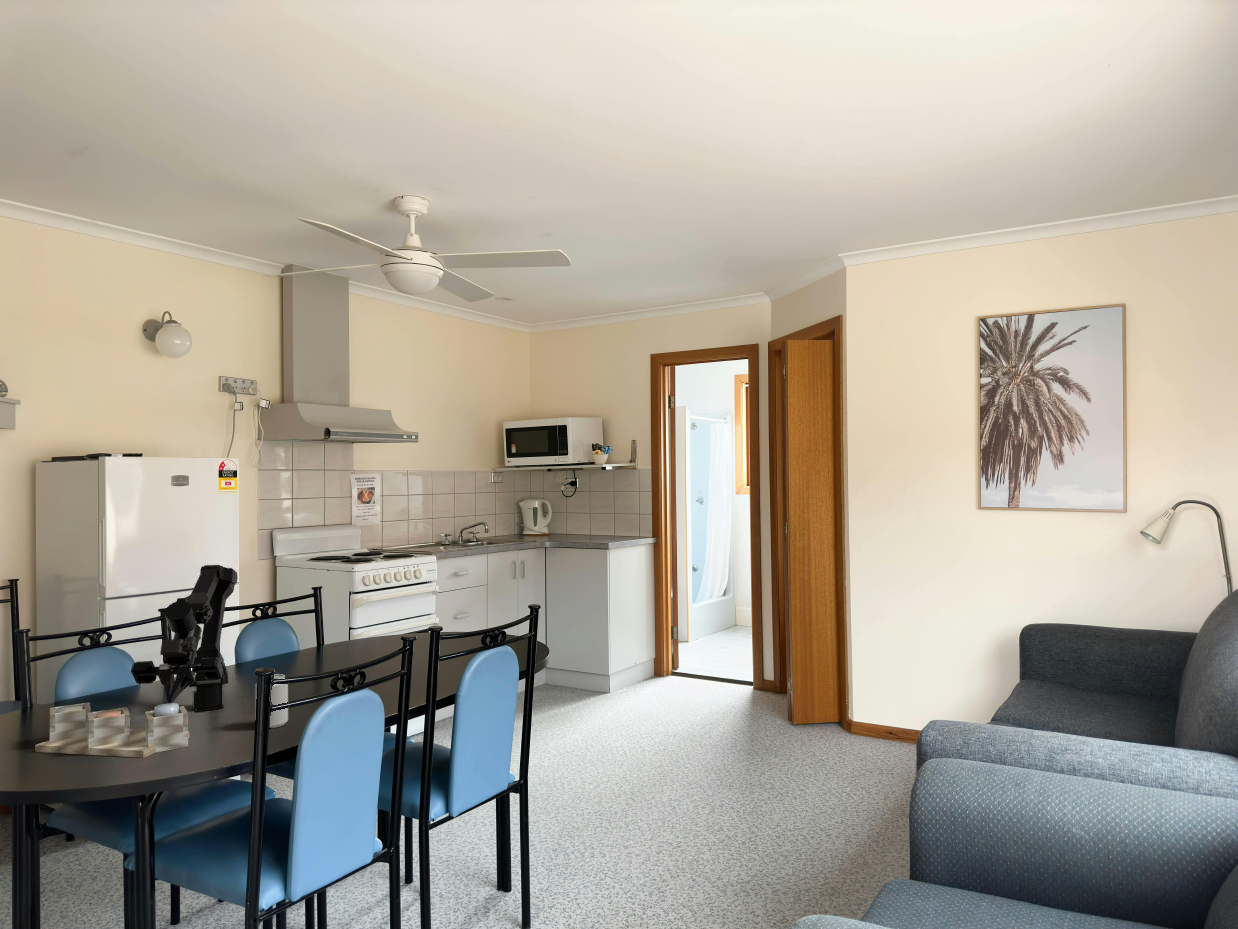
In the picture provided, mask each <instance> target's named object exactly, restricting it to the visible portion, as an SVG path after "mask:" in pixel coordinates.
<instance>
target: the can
mask: <svg viewBox="0 0 1238 929" xmlns="http://www.w3.org/2000/svg"><path fill="white" fill-rule="evenodd" d="M273 674H274V673H273ZM285 677H286V675H285V674H283V673H281V674H280V673H275V674H274V679H286V678H285ZM256 699H257V682H255V684H254V721H255V720H256ZM271 702H272V704H273V705H278V704H282V703H287V702H288V703H289V683H288V684H274V685H273V686H272V690H271ZM288 721H289V707H288V708H285V709H281V710H276V711H273V712H271V716H270V728H271V729H277V728H279V727H282V726H284V725H285V724H286V723H287V722H288Z"/></svg>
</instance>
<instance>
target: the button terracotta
mask: <svg viewBox="0 0 1238 929" xmlns="http://www.w3.org/2000/svg"><path fill="white" fill-rule="evenodd" d="M116 715H121V711H107V712H102V713H99V714H97V715H96V718H102V717H109V716H116Z"/></svg>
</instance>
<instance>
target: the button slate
mask: <svg viewBox="0 0 1238 929" xmlns="http://www.w3.org/2000/svg"><path fill="white" fill-rule="evenodd" d="M179 707H180V706H179V703H175V702H172V703H168V702H166V703H162V704H158V705H155V706H154V709H153V711H154V717H160V716H167V715H173V714H179Z"/></svg>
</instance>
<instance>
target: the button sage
mask: <svg viewBox="0 0 1238 929" xmlns="http://www.w3.org/2000/svg"><path fill="white" fill-rule="evenodd" d="M76 710H83V707H82V706H70V707H64V708H61V709H59V710H58V713H62V712H69V711H76Z"/></svg>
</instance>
